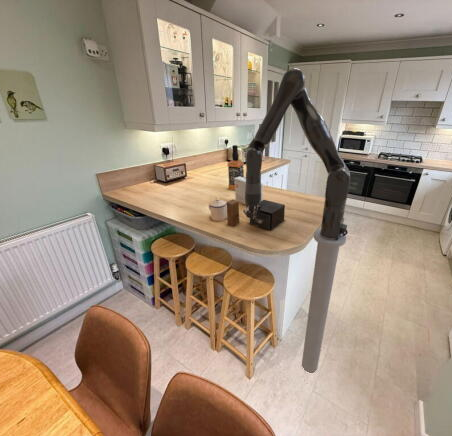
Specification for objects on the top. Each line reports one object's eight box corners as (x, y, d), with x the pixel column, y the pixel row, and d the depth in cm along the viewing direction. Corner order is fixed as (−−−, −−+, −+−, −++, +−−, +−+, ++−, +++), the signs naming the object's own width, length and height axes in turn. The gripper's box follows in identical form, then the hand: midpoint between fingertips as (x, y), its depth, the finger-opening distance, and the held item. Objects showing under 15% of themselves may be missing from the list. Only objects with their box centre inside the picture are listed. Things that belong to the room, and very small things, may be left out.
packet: (239, 223, 127) (238, 200, 121) (233, 226, 123) (232, 203, 118) (233, 221, 129) (232, 199, 123) (227, 224, 125) (226, 202, 120)
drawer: (264, 232, 116) (265, 218, 112) (245, 226, 122) (244, 212, 118) (281, 220, 128) (281, 207, 124) (262, 215, 134) (262, 202, 131)
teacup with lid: (230, 217, 133) (229, 198, 128) (219, 223, 127) (217, 203, 122) (215, 211, 140) (214, 193, 135) (204, 217, 133) (202, 198, 128)
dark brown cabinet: (271, 230, 120) (271, 213, 115) (250, 223, 126) (249, 207, 122) (284, 220, 130) (284, 204, 125) (263, 214, 136) (263, 199, 132)
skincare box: (234, 200, 156) (233, 177, 149) (241, 198, 160) (240, 176, 153) (256, 209, 143) (256, 185, 136) (263, 207, 146) (263, 183, 139)
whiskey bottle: (228, 189, 176) (225, 146, 162) (233, 185, 185) (231, 144, 171) (240, 191, 173) (239, 146, 159) (245, 187, 182) (244, 144, 168)
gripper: (251, 196, 102) (251, 231, 109) (267, 189, 112) (266, 221, 119) (238, 193, 105) (238, 227, 113) (254, 186, 115) (254, 217, 123)
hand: (253, 224), depth 116 cm, fingers closed
